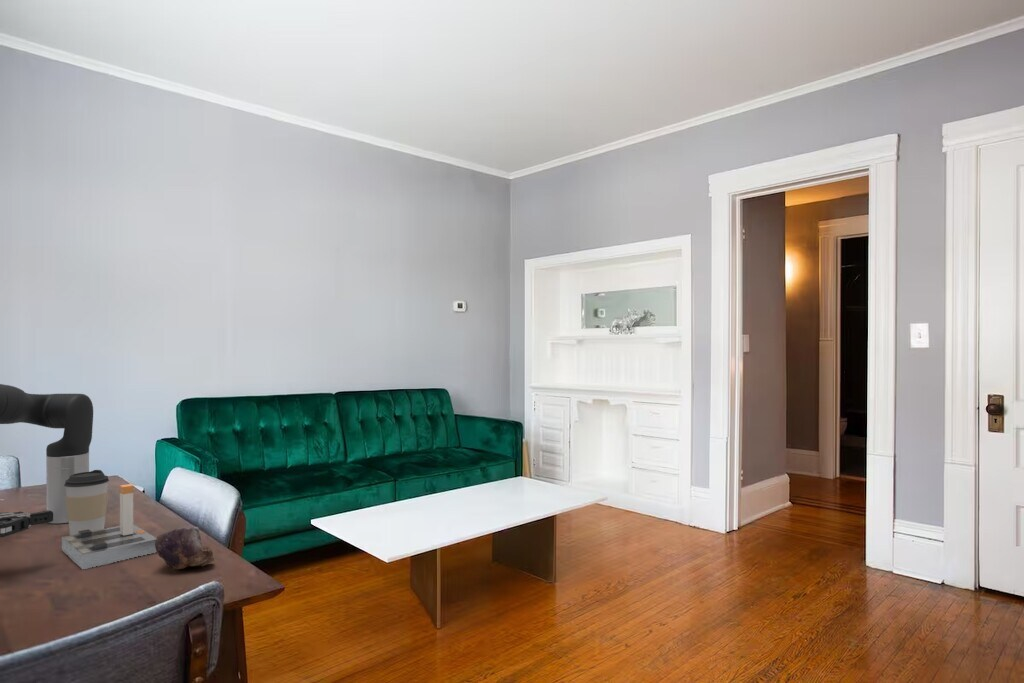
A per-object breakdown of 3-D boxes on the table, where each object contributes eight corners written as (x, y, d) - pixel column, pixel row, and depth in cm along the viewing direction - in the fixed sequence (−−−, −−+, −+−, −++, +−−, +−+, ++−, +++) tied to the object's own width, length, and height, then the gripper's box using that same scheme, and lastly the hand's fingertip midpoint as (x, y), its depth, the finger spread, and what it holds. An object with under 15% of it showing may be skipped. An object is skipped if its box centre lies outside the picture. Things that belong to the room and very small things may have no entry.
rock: (198, 560, 135) (147, 571, 128) (197, 520, 136) (146, 529, 129) (219, 565, 127) (166, 577, 120) (218, 522, 128) (165, 531, 121)
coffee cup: (86, 540, 145) (86, 477, 145) (54, 538, 147) (54, 475, 147) (118, 529, 154) (117, 469, 154) (87, 527, 156) (87, 468, 156)
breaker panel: (61, 550, 139) (61, 532, 139) (132, 535, 149) (132, 519, 149) (82, 569, 126) (82, 550, 126) (157, 552, 137) (157, 534, 137)
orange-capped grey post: (119, 533, 140) (119, 485, 140) (130, 531, 142) (130, 483, 142) (123, 535, 138) (122, 487, 139) (133, 533, 140) (133, 485, 140)
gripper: (-56, 520, 113) (59, 503, 126) (-63, 508, 122) (45, 492, 134) (-56, 562, 113) (59, 540, 125) (-63, 546, 122) (45, 527, 134)
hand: (52, 515), depth 130 cm, fingers closed
